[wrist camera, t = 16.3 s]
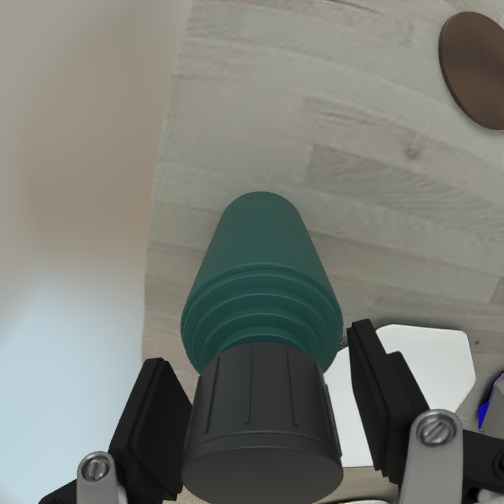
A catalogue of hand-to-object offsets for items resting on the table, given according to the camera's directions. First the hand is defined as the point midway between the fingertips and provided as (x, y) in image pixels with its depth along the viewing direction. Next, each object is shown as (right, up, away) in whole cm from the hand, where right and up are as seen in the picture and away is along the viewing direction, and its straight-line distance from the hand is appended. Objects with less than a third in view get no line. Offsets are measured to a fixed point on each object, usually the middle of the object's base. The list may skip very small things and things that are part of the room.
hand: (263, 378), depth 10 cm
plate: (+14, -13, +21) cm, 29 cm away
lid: (+20, +20, +8) cm, 29 cm away
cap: (0, 0, 0) cm, 0 cm away
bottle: (0, +6, +14) cm, 15 cm away
